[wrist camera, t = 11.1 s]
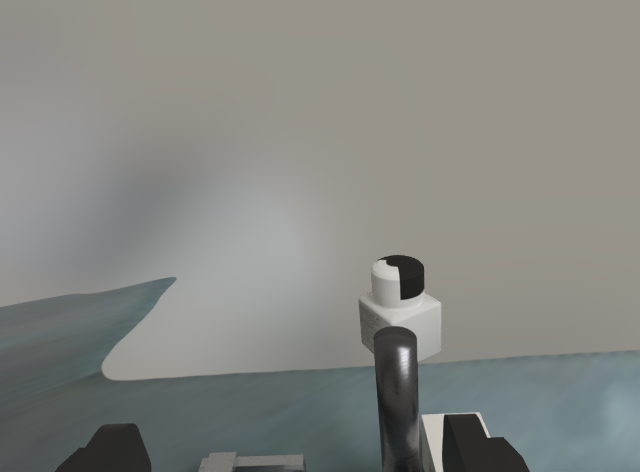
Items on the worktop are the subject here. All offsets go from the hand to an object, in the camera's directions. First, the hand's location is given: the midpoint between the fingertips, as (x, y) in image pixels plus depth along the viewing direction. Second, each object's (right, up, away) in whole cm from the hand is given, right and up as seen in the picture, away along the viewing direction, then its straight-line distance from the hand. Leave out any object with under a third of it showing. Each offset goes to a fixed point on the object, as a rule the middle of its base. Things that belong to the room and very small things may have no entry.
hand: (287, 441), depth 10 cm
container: (+12, -10, +41) cm, 44 cm away
